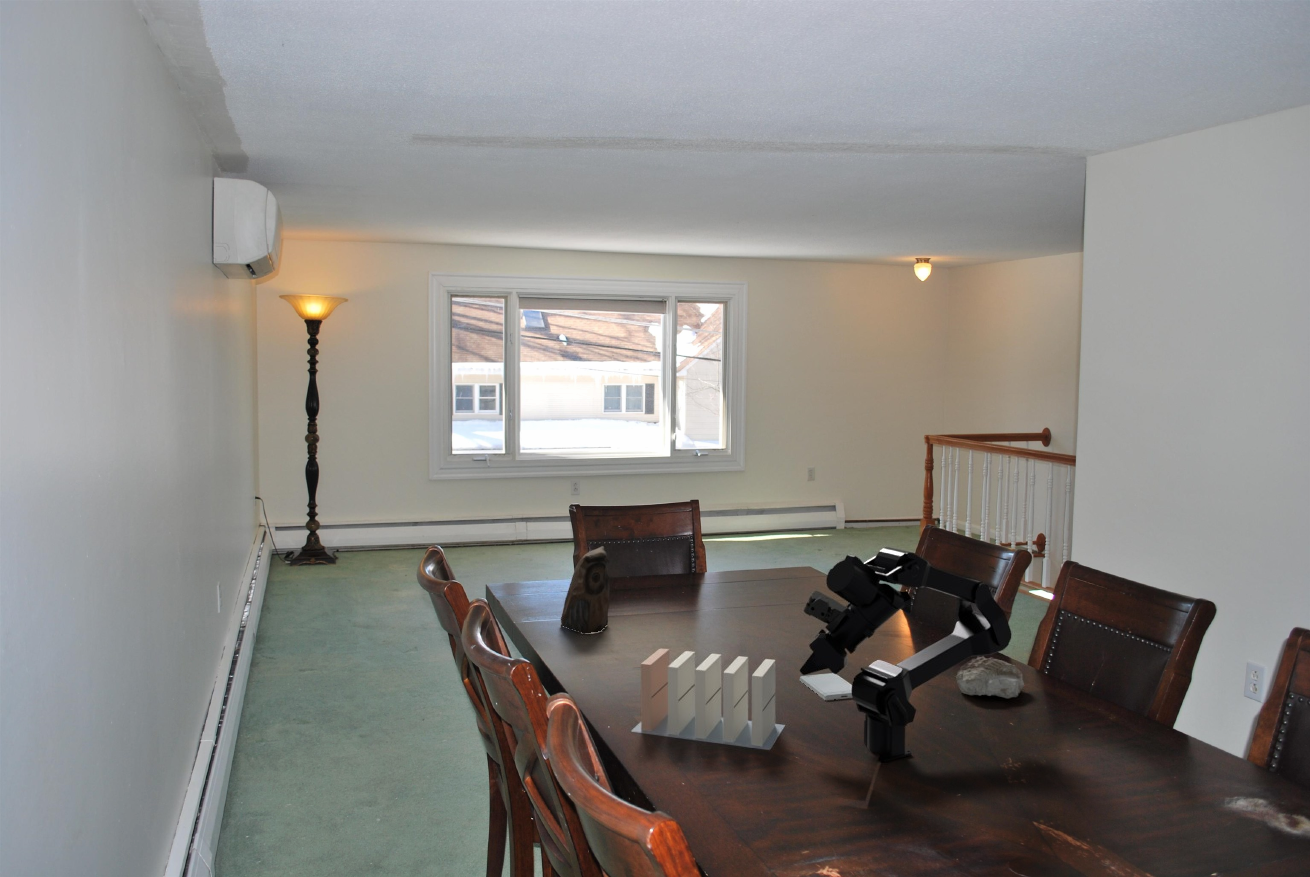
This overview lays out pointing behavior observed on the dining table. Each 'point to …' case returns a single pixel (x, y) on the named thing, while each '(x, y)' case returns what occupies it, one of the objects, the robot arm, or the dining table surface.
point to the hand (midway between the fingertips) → (801, 672)
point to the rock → (989, 678)
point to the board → (715, 734)
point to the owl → (588, 594)
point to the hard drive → (828, 686)
